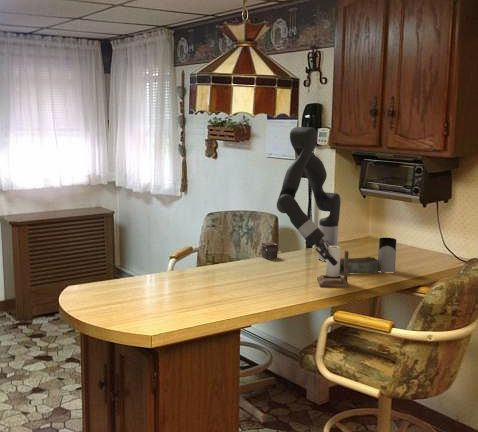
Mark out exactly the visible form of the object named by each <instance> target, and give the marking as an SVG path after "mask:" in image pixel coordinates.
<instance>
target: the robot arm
mask: <svg viewBox="0 0 478 432" xmlns="http://www.w3.org/2000/svg"><path fill="white" fill-rule="evenodd" d="M289 140H290V143H291V147H292V149H293V150H294V152H295V154H296V156H297V158H296V159H295V160H294V161H293V162H292V163H291V164H290V166H288V169H286V173H285V175H284V177H283V178H284V179H283V182H282V186H281V190H280V193H279V195H278V198H277V200H276V201H277V202H276V209H277V211H279V213H280V214H286V215H287V216H288V218H289V220H290V223H291V224H292V226H293V227H294V228H295V229H296V231H298V232H299V234H300V235H301V236H302V238H303V239H304V240H305V242H307V244H308V245H310V247H313V246H315V247H316V248H315V251H316V252H317V259H318V258H319V259H322V260H329V261H330V263H331V264H332V265H333V266H335V265H336V264H337V263H338V262H337V261H336V260H335V259H334V258H333V256H332V255H331V254H330V252H329V249H328V246H338V244H339V243H338V240H339V239H338V238H339V237H338V236H339V222H340V212H341V202H342V201H341V196H340V194H338V193H336V192H326V191H325V190H324V189H323V186H324V184H325V183H326V180H327V176H328V175H327V171H326V168H325V166H324V163H323V161H322V160H321V159H320V158H319V157H318V156H317V155H316V154H315V153H313V151H314V149H315V147H316V144H317V141H318V132H317V129H316V128H314V127H309V126H306V127H305V126H300V127H299V126H296V127H294V128H292V129H290V132H289ZM304 173H305V176H306V179H307V180H308V182H309V185H310V188H311V191H312V193H313V197H314V201H315V205H316V207H317V209H318V210H319V211H321V212H329V214H328V216H326V217H323V218H320V219H319V222H318V223H319V224H318V226H319V227H318V226H317V224H316V223H315V222H313V221H312V220H311V218H310V217H309V216H308V215H307V213H305V212H304V211H303V209H302V207H301V206H300V205H299V203H298V202H297V200H296V199H295V198H296V193H297V192H298V190H299V187H300V184H301V180H302V177H303V174H304ZM331 256H332V257H331ZM319 259H318V260H319ZM340 260H341V259H340Z"/></svg>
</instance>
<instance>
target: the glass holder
mask: <svg viewBox="0 0 478 432" xmlns="http://www.w3.org/2000/svg"><path fill="white" fill-rule="evenodd" d="M377 252H378V254H377V260H378V261H379V271H381V272H395V271H396V262H397V260H396V258H397V256H396V255H397V239H396V238H394V237H380V238H379V241H378V251H377ZM396 272H397V271H396Z"/></svg>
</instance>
